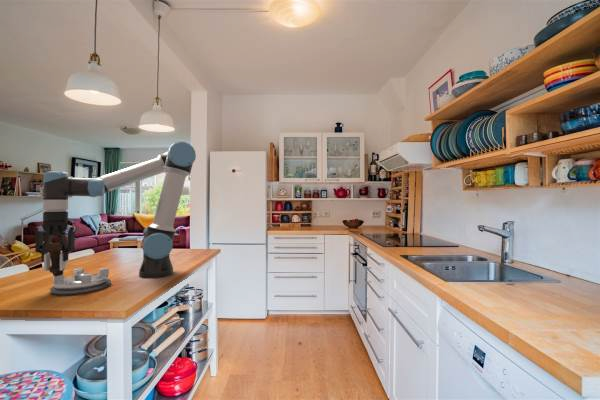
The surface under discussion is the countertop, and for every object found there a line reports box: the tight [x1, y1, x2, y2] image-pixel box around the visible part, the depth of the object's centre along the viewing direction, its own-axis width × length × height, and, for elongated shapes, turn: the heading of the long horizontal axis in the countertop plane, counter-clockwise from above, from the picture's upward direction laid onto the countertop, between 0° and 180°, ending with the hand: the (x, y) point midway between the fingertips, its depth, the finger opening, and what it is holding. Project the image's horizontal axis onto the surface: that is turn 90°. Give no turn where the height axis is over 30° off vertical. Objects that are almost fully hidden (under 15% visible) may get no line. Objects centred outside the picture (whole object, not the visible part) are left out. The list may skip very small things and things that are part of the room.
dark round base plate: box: [49, 278, 112, 297], centre depth 118 cm, size 20×20×2 cm
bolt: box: [45, 242, 65, 276], centre depth 113 cm, size 6×5×15 cm
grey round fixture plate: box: [52, 267, 110, 291], centre depth 118 cm, size 18×18×5 cm
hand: (55, 269), depth 112 cm, fingers closed on bolt, 5 cm apart
